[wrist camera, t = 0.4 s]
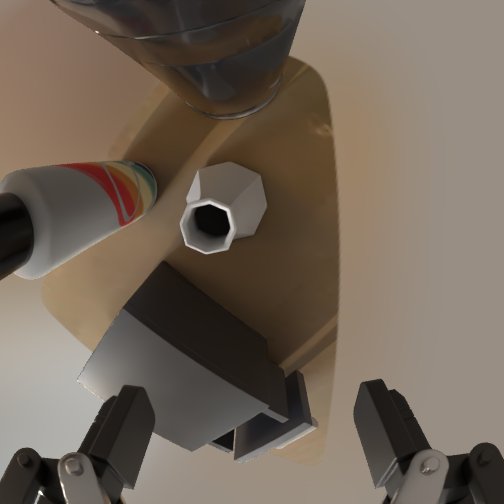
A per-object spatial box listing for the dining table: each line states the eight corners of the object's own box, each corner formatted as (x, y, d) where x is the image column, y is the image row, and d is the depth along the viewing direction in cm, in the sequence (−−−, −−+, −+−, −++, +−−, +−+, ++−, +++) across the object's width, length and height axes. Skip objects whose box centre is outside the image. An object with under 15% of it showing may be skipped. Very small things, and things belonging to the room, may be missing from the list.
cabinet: (266, 339, 29) (270, 406, 20) (203, 391, 32) (191, 452, 23) (163, 259, 26) (122, 307, 17) (113, 328, 29) (76, 380, 20)
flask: (271, 165, 24) (282, 166, 14) (262, 244, 26) (266, 293, 16) (189, 158, 23) (148, 157, 14) (184, 236, 26) (146, 279, 16)
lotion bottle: (162, 163, 24) (-33, 189, 5) (155, 223, 25) (-5, 347, 6) (109, 158, 23) (-79, 184, 4) (104, 215, 25) (-62, 303, 6)
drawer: (326, 388, 30) (339, 437, 23) (268, 427, 33) (269, 473, 25) (215, 313, 27) (203, 364, 20) (162, 367, 30) (143, 415, 22)
